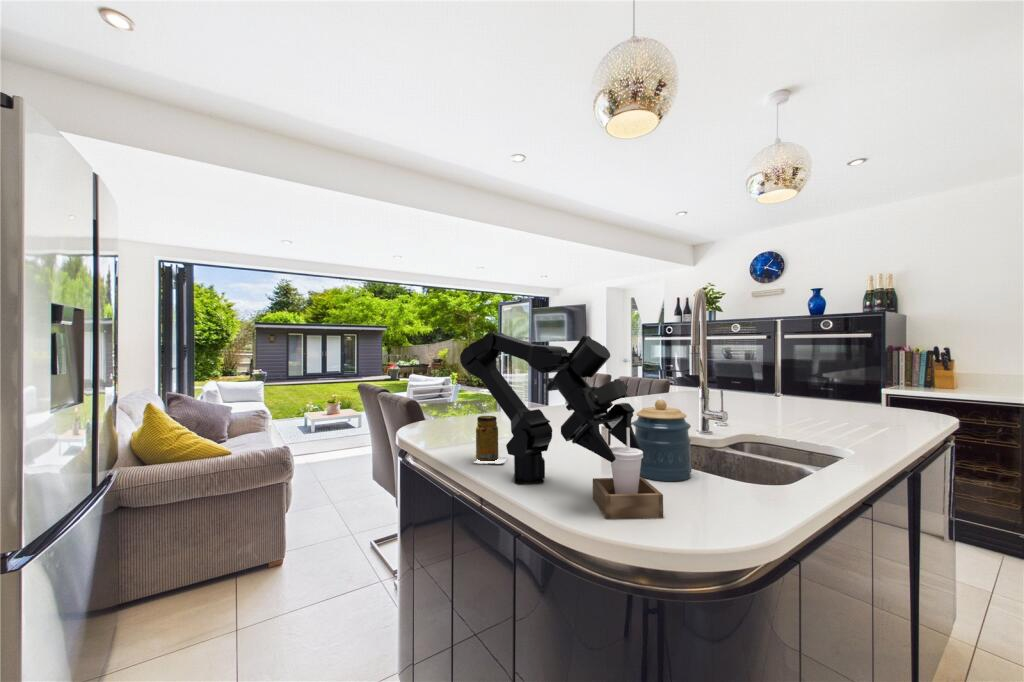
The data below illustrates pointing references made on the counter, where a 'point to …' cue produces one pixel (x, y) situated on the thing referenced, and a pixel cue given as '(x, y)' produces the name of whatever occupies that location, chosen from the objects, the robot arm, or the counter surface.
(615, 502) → the wooden box
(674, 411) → the canister
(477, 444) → the condiment
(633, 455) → the smoothie
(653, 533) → the counter surface
